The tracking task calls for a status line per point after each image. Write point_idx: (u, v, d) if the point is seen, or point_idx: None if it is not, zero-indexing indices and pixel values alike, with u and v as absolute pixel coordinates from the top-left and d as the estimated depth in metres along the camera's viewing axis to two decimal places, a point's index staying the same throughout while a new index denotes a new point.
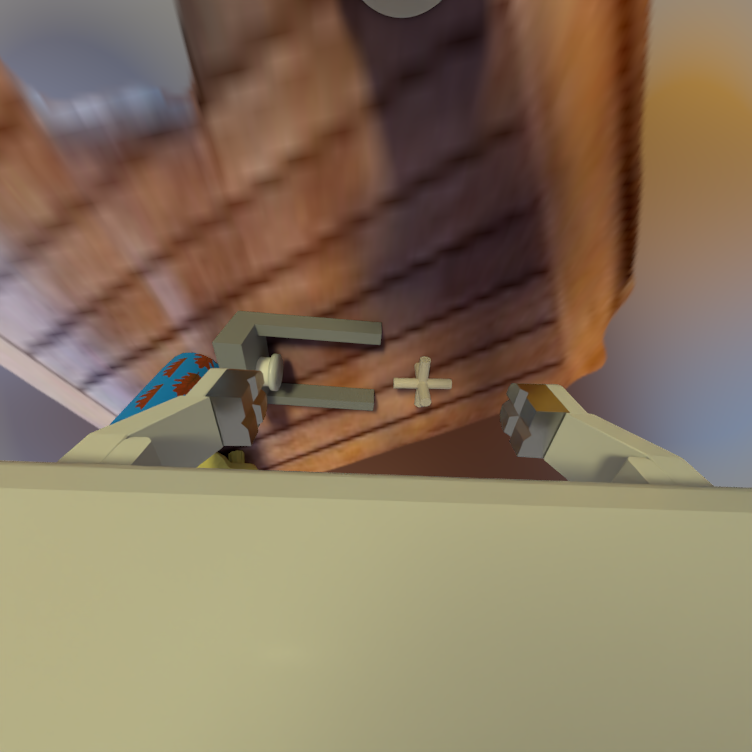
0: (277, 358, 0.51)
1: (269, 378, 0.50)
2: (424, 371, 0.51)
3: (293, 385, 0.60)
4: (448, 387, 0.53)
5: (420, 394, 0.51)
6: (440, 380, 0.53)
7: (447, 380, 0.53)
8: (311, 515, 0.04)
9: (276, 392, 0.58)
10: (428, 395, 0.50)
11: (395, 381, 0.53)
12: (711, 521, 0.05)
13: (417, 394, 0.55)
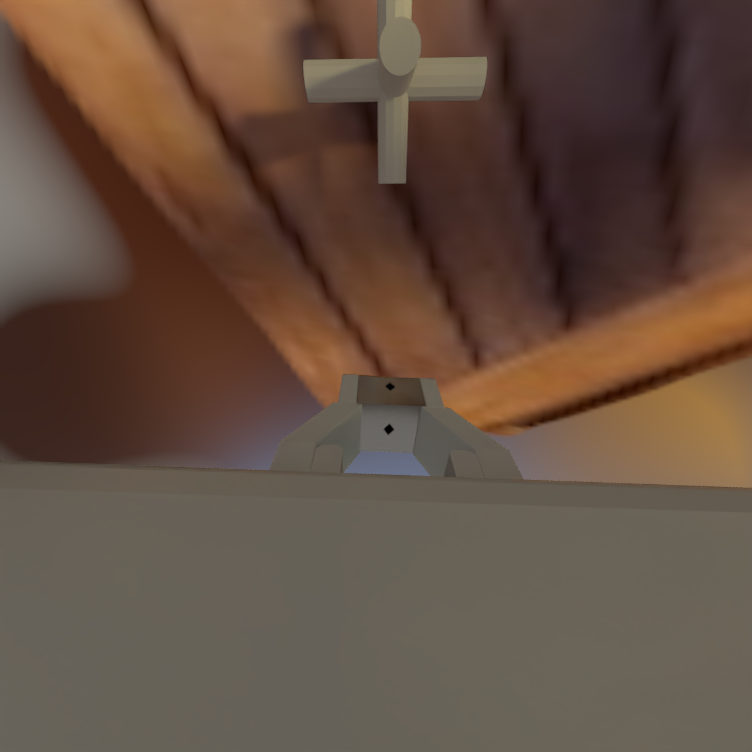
0: None
1: None
2: (452, 72, 0.17)
3: None
4: (391, 173, 0.19)
5: None
6: (406, 146, 0.19)
7: (405, 170, 0.20)
8: (311, 515, 0.04)
9: None
10: (414, 68, 0.14)
11: None
12: (711, 521, 0.05)
13: (354, 61, 0.17)
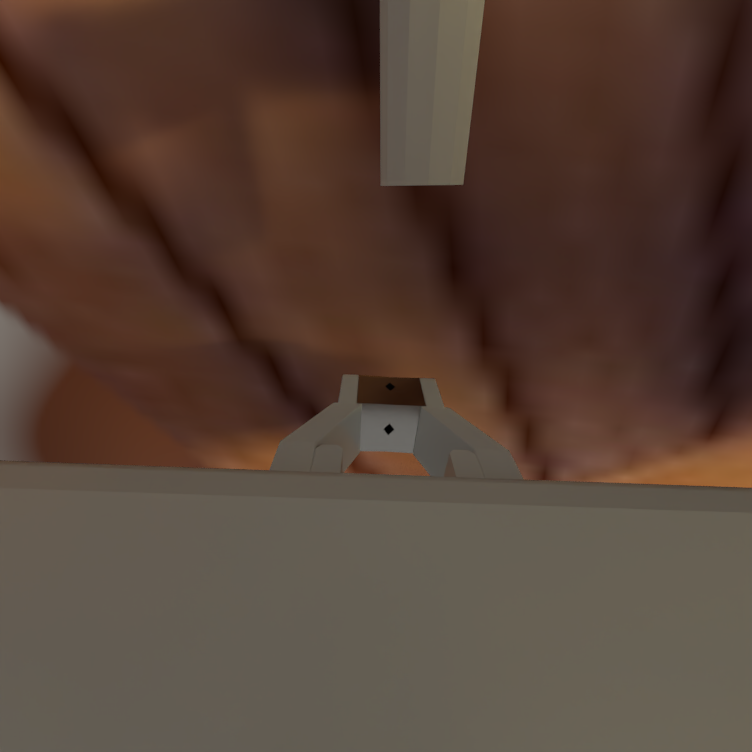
0: None
1: None
2: None
3: None
4: (424, 153, 0.06)
5: None
6: None
7: None
8: (311, 515, 0.04)
9: None
10: None
11: None
12: (711, 521, 0.05)
13: None
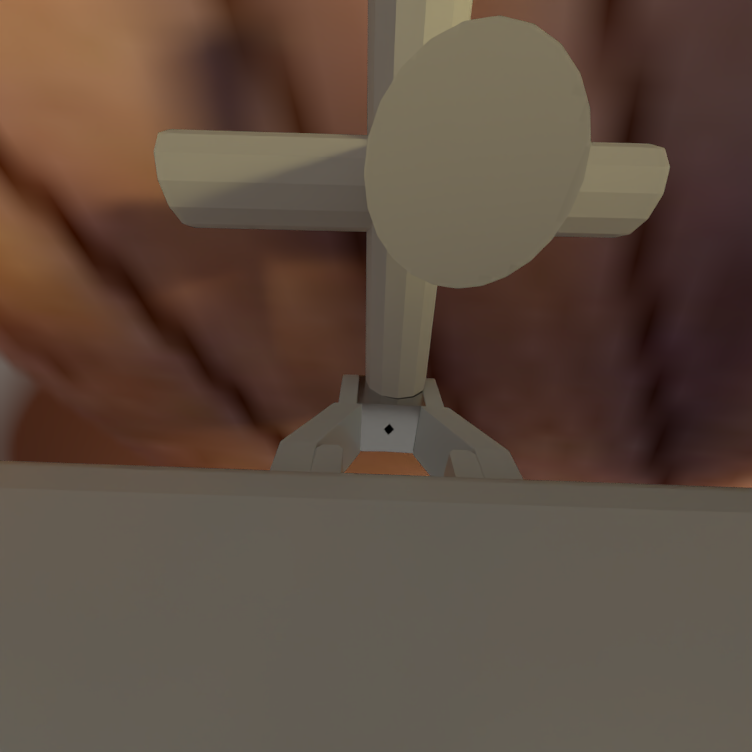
0: None
1: None
2: None
3: None
4: (395, 381, 0.08)
5: None
6: None
7: None
8: (311, 515, 0.04)
9: None
10: None
11: None
12: (711, 521, 0.05)
13: (302, 144, 0.06)
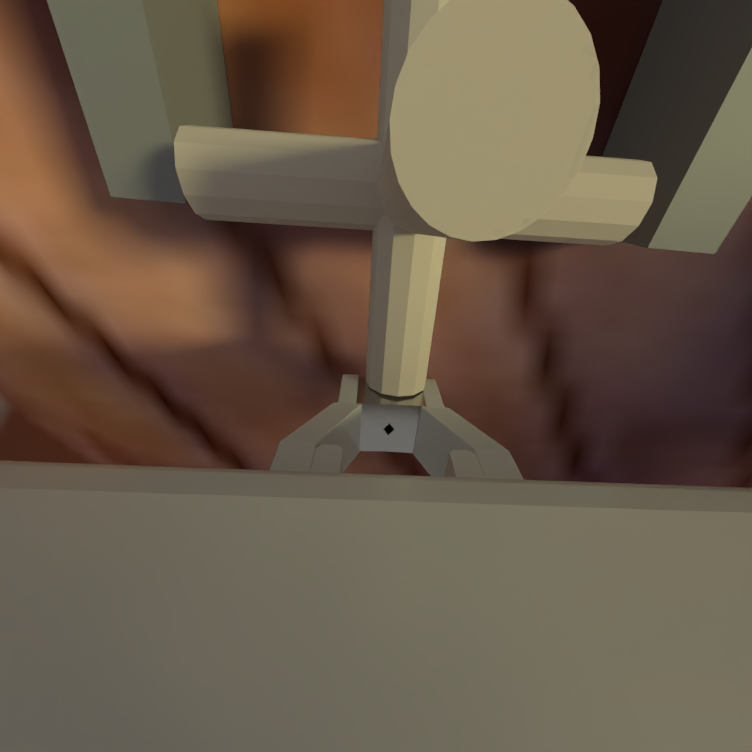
0: None
1: None
2: (569, 189, 0.06)
3: None
4: (396, 378, 0.08)
5: None
6: None
7: None
8: (311, 515, 0.04)
9: None
10: None
11: None
12: (711, 521, 0.05)
13: (316, 142, 0.06)
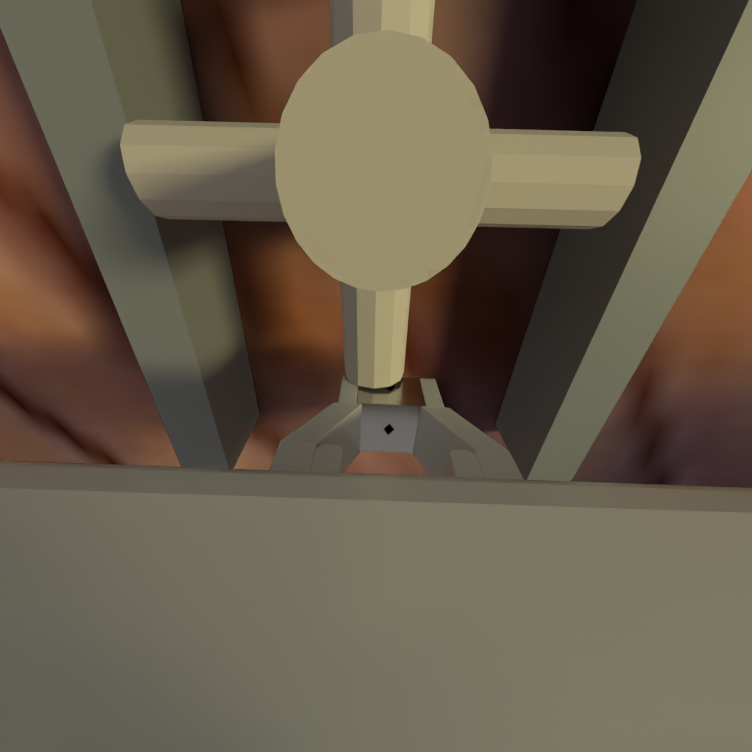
0: None
1: None
2: (540, 176, 0.06)
3: None
4: (370, 372, 0.08)
5: None
6: (406, 314, 0.08)
7: (403, 353, 0.09)
8: (311, 515, 0.04)
9: None
10: None
11: None
12: (711, 521, 0.05)
13: (267, 135, 0.06)
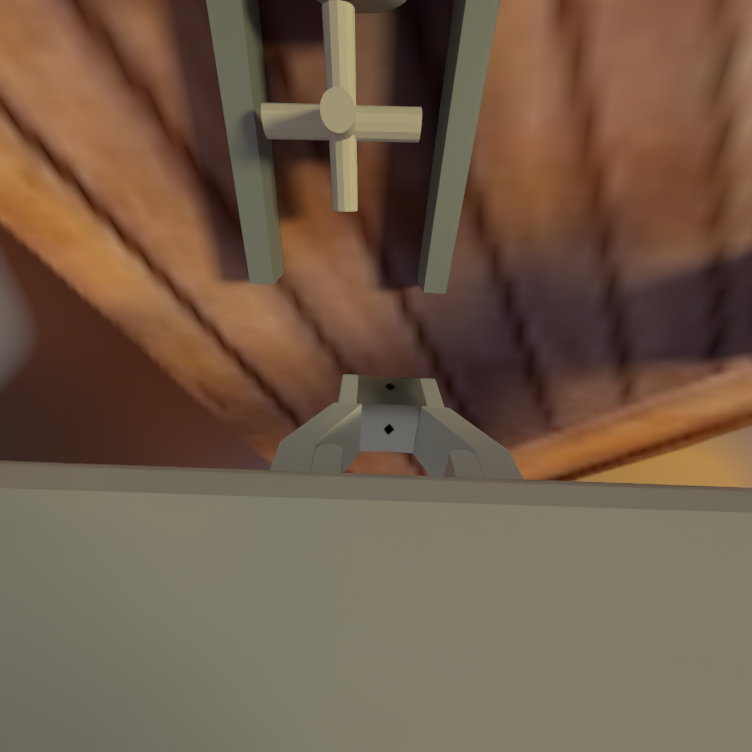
0: None
1: None
2: (392, 120, 0.19)
3: (259, 34, 0.21)
4: (343, 203, 0.22)
5: None
6: (356, 179, 0.21)
7: (356, 199, 0.22)
8: (311, 515, 0.04)
9: None
10: (352, 125, 0.17)
11: (351, 10, 0.17)
12: (711, 521, 0.05)
13: (306, 107, 0.19)
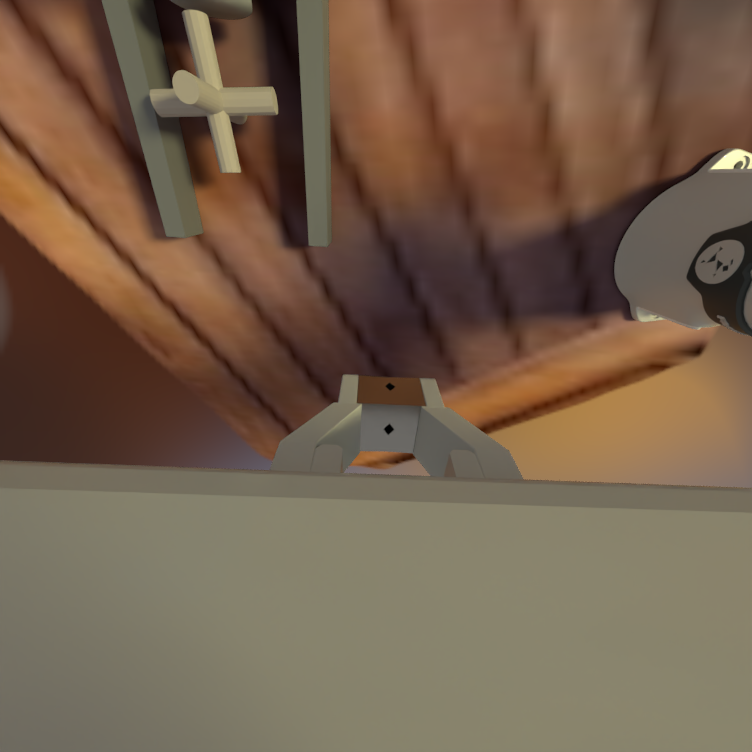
0: (242, 6, 0.24)
1: None
2: (249, 97, 0.25)
3: (157, 36, 0.27)
4: (224, 165, 0.28)
5: (198, 78, 0.23)
6: (234, 146, 0.28)
7: (237, 163, 0.28)
8: (311, 515, 0.04)
9: None
10: (203, 99, 0.23)
11: (203, 16, 0.23)
12: (711, 521, 0.05)
13: None
